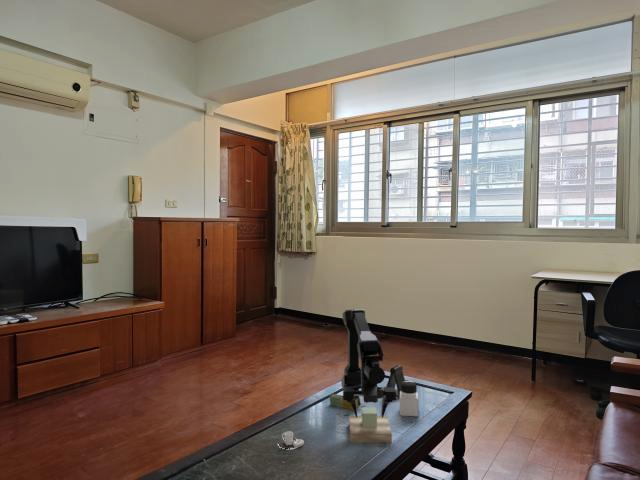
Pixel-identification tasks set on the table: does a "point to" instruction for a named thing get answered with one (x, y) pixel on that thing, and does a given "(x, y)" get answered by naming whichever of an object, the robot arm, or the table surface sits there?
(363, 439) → the base block
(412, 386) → the medicine bottle
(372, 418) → the green cube
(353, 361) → the robot arm
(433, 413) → the table surface
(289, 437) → the teacup and saucer
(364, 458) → the table surface
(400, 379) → the phone stand
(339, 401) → the medication box
